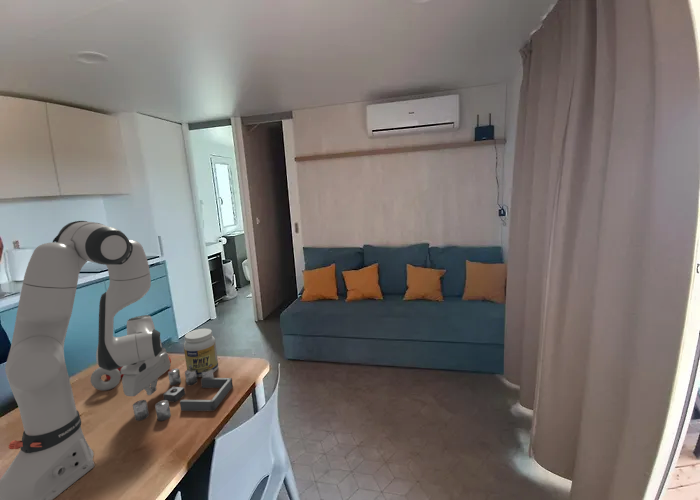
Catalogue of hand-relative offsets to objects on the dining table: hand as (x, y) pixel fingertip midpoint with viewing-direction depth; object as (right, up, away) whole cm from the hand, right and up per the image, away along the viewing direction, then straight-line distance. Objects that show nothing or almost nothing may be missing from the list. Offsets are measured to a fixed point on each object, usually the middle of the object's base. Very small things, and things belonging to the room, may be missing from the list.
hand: (151, 392), depth 130 cm
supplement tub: (+12, +2, +18) cm, 21 cm away
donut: (-21, -2, +8) cm, 23 cm away
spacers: (+10, -2, -1) cm, 10 cm away
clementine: (-7, +1, +21) cm, 22 cm away
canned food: (-24, 0, +18) cm, 30 cm away
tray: (+22, -1, -2) cm, 22 cm away
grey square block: (+9, -2, -1) cm, 9 cm away
